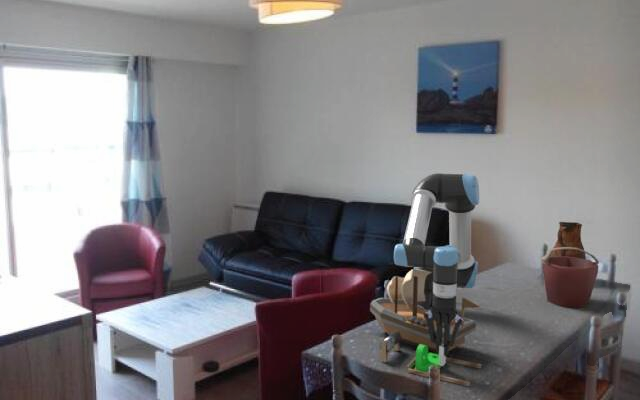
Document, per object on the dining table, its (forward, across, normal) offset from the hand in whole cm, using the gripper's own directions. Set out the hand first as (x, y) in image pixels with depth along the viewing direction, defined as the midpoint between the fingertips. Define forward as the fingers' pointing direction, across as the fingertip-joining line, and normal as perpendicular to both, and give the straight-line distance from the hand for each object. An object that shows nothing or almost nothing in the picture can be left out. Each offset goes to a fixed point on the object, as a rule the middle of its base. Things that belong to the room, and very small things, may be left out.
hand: (442, 364), depth 189 cm
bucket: (+2, +28, +98) cm, 102 cm away
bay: (+2, 0, 0) cm, 2 cm away
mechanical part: (+2, -4, 0) cm, 4 cm away
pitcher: (+2, +23, +133) cm, 135 cm away
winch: (+2, -19, +2) cm, 19 cm away
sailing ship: (+2, -13, +18) cm, 23 cm away
